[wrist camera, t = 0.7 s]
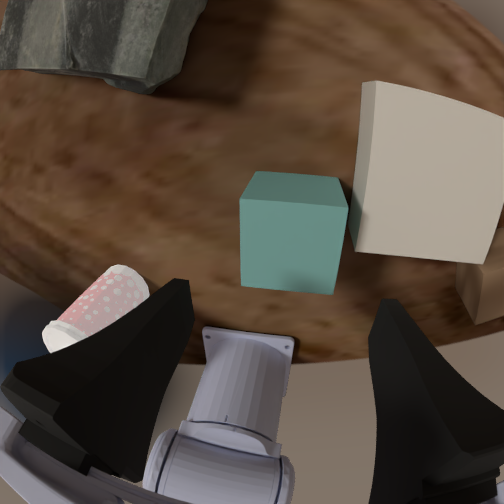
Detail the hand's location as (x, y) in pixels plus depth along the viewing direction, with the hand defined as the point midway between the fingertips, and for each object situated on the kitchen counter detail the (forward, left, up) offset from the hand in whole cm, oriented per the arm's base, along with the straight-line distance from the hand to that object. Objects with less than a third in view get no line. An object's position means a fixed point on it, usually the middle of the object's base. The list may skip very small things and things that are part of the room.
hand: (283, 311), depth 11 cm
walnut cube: (-2, -15, -10) cm, 18 cm away
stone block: (+14, +13, -10) cm, 21 cm away
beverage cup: (-8, +14, -10) cm, 19 cm away
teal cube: (0, 0, -10) cm, 10 cm away
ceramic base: (+4, -8, -9) cm, 13 cm away
